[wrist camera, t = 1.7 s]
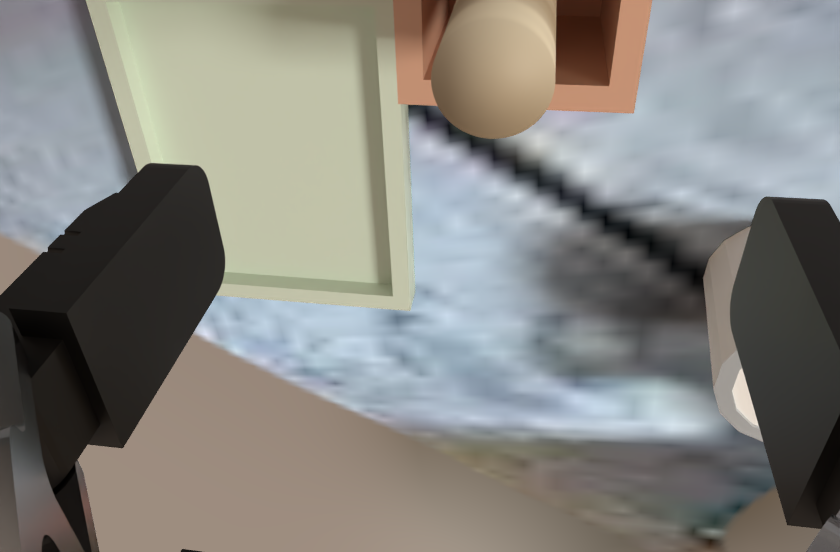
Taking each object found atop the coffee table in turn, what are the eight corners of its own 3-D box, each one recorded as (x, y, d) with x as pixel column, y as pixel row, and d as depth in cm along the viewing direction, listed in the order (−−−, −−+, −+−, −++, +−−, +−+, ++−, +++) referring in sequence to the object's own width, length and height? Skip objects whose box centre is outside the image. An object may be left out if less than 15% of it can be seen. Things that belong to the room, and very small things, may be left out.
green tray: (99, -33, 28) (79, -22, 27) (402, -29, 26) (395, -17, 25) (185, 273, 37) (173, 291, 36) (415, 291, 36) (410, 310, 34)
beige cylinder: (664, 311, 34) (684, 425, 29) (730, 190, 30) (768, 296, 24) (806, 346, 34) (853, 467, 28) (892, 230, 30) (967, 345, 24)
